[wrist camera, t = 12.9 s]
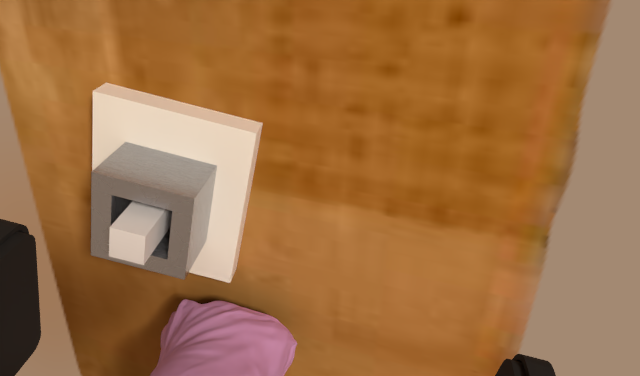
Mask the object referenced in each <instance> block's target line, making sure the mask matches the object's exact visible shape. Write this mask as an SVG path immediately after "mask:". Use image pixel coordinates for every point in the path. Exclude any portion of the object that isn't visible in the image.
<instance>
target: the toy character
mask: <svg viewBox="0 0 640 376" xmlns="http://www.w3.org/2000/svg"><path fill="white" fill-rule="evenodd" d="M296 345H297V342H296V341H295V340H294V338H293V336H292V334H291V333H290V332H289V330H288V329H287V328H286V327H285V326H284V325H283V324H281V323H280V322H279V320H278V319H276V318H274V317H272V316H270V315H267V314H264V313H260V312H257V311H253V310H250V309H248V308H245V307H240V306H238V305H235V304H233V303H229V302H225V301H212V302H209V303H206V304H199V303H197V302H195V301H191V300H187V299H184V300H183V301H182V302H181V303H180V304H179V306H178V309H177V311H175V312H173V313H172V314H171V316H170V319H169V322H168V324H167V325H166V326H165V327H164V329H163V330H162V332H161V353H160V357H159V361H158V365H157V366H156V368H155V369H154V370H153V372H152V373H151V374H150V376H284V374H285V372H286V371H287V369H288V368H289V366H290V365H291V363H292V361H293V359H294V353H295V347H296Z"/></svg>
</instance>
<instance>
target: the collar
mask: <svg viewBox="0 0 640 376" xmlns="http://www.w3.org/2000/svg"><path fill="white" fill-rule="evenodd" d="M216 170H217V165H213V164H209V163H205V162H201V161H198V160H194V159H190V158H186V157H182V156H178V155H175V154H171V153H167V152H163V151H159V150H155V149H152V148H148V147H144V146H140V145H136V144H132V143H129V142H125V143H124V144H123V145H121V146H120V147H119V148H118V149H117V150H116V151H115V152H113V153H112V154H111V155H110V156H109V157H108V158H107V159H106V160H104V161H103V162H102V163H101V164H100V165H99V166H98V167H96V168H95V169H94V170H93V171H92V183H91V255H92V256H96V257H100V258H104V259H107V260H111V261H115V262H119V263H123V264H127V265H130V266H134V267H138V268H142V269H146V270H149V271H153V272H157V273H161V274H165V275H169V276H172V277H176V278H180V279H184V280H185V278H186V276H187V275H188V273H189V271H190V269H191V267H192V266H193V264H194V262H195V260H196V259H197V257H198V255H199V253H200V251H201V250H202V248H203V246H204V244H205V242H206V240H207V233H208V226H209V219H210V212H211V205H212V198H213V191H214V184H215V177H216ZM132 201H136V202H140V203H144V204H148V205H152V206H155V207H159V208H163V209H167V210H171V211H172V219H171V227H170V228H169V229H168V231H167V232H166V234H165V235H164V237H163V238H162V240H161V241H160V242H159V244H158V245H157V247H156V248H155V250H154V251H153V252H152V254H151V255H150V257H149V258H148V260H147V261H146V263H145V264H144V265H141V264H137V263H133V262H129V261H125V260H121V259H117V258H114V257H110V256H109V233H110V226H111V225H112V224H113V223H114V222H115V221H116V220H117V218H118V217H119V216H120V215H121V214H122V213H123V212H124V210H125V209H126V208H127V207H128V206H129V205H130V204H131V203H132Z"/></svg>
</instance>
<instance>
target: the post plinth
mask: <svg viewBox="0 0 640 376" xmlns="http://www.w3.org/2000/svg"><path fill="white" fill-rule="evenodd" d="M262 125H263V123H260V122H256V121H252V120H249V119H245V118H241V117H237V116H233V115H229V114H225V113H222V112H218V111H214V110H210V109H206V108H202V107H198V106H195V105H191V104H187V103H183V102H179V101H175V100H171V99H168V98H164V97H160V96H156V95H152V94H148V93H144V92H140V91H137V90H133V89H129V88H125V87H121V86H117V85H113V84H110V83H105V84H103V85H102V86H100V87H99V88H97V89H95V90H94V91H93V137H92V171H93V170H94V169H95V168H96V167H98V166H99V165H100V164H101V163H102V162H103V161H104V160H106V159H107V158H108V157H109V156H110V155H111V154H112V153H113V152H115V151H116V150H117V149H118V148H119V147H120V146H121V145H123V144H124V143H125V142H129V143H132V144H136V145H140V146H144V147H148V148H152V149H155V150H159V151H163V152H167V153H171V154H175V155H178V156H182V157H186V158H190V159H194V160H198V161H201V162H205V163H209V164H213V165H217V170H216V177H215V184H214V191H213V198H212V205H211V212H210V219H209V226H208V233H207V240H206V242H205V244H204V246H203V248H202V250H201V251H200V253H199V255H198V257H197V259H196V260H195V262H194V264H193V266H192V267H191V269H190V271H189V272H190V273H193V274H197V275H201V276H205V277H209V278H213V279H216V280H220V281H224V282H228V283H230V282H231V280H232V277H233V275H234V273H235V271H236V268H237V262H238V257H239V251H240V246H241V240H242V235H243V229H244V224H245V218H246V213H247V207H248V202H249V196H250V191H251V185H252V180H253V174H254V169H255V163H256V158H257V152H258V147H259V142H260V136H261V131H262ZM171 219H172V211H171V210H167V209H163V208H159V207H155V206H152V205H148V204H144V203H140V202H136V201H132V203H131V204H130V205H129V206H128V207H127V208H126V209H125V210H124V212H123V213H122V214H121V215H120V216H119V217H118V218H117V220H116V221H115V222H114V223H113V224H112V225H111V226H110V233H109V256H110V257H114V258H117V259H121V260H125V261H129V262H133V263H137V264H141V265H144V264H145V263H146V261H147V260H148V258H149V257H150V255H151V254H152V252H153V251H154V250H155V248H156V247H157V245H158V244H159V242H160V241H161V240H162V238H163V237H164V235H165V234H166V232H167V231H168V229H169V228H170V227H171Z"/></svg>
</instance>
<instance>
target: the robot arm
mask: <svg viewBox="0 0 640 376" xmlns="http://www.w3.org/2000/svg"><path fill="white" fill-rule="evenodd" d="M36 259H37V258H36V242H35V238H34V236H33V235H29V232H28V229H27V227H26V226H24V225H21V224H18V223H14V222H10V221H6V220H2V219H0V376H15V375H16V373H17V372H18V371H19V370H20V368H21V367H22V366H23V365H24V363H25V362H26V361H27V360H28V358H29V357H30V356H31V355H32V353H33V352H34V350H35V349H36V347H37V345H38V343H39V340H40V336H41V330H40V329H41V327H40V312H39V311H40V310H39V293H38V276H37V260H36ZM495 376H556V375H555V372H554V369H553V367H552V365H551V364H550V363H549V362H548V361H545V360H541V359H537V358H533V357H529V356H525V355H522V354H517V355H516V356H515V357H514V358H513V359H512V360H510V359H506V360H504V362H503V363H502V365H501V366H500V368H499V370H498V372H497V374H496V375H495Z"/></svg>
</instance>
